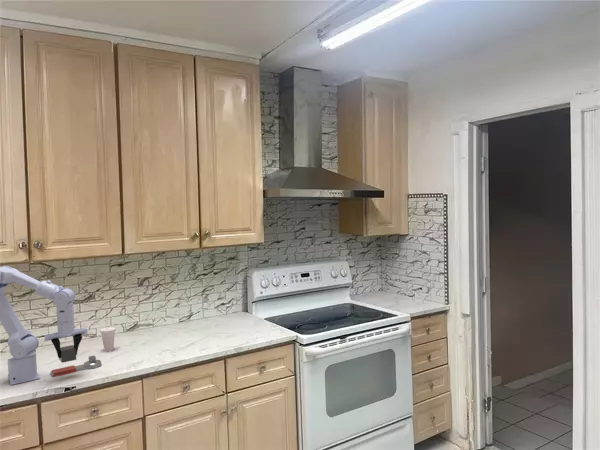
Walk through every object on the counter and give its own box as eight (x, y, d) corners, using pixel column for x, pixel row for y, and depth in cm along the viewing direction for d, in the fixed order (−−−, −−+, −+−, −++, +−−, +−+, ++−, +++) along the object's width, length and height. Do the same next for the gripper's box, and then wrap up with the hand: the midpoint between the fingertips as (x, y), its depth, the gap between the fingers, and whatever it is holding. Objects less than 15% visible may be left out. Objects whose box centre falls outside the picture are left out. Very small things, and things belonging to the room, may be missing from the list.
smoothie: (99, 350, 209) (97, 319, 208) (113, 346, 213) (111, 316, 212) (104, 353, 204) (103, 322, 203) (119, 349, 208) (117, 319, 208)
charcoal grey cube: (61, 362, 174) (61, 351, 173) (59, 359, 178) (58, 347, 177) (76, 359, 177) (75, 348, 176) (73, 356, 181) (72, 345, 180)
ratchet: (52, 378, 177) (52, 367, 176) (49, 373, 182) (49, 363, 182) (102, 367, 188) (102, 356, 187) (98, 362, 193) (98, 352, 193)
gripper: (46, 326, 169) (48, 362, 169) (88, 319, 177) (90, 354, 178) (42, 322, 174) (44, 357, 175) (84, 315, 183) (85, 349, 184)
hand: (67, 355), depth 177 cm, fingers closed on charcoal grey cube, 5 cm apart
